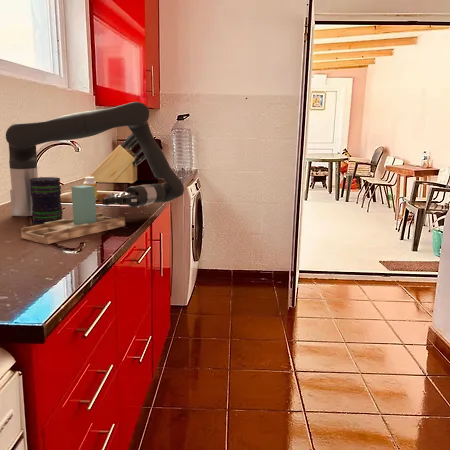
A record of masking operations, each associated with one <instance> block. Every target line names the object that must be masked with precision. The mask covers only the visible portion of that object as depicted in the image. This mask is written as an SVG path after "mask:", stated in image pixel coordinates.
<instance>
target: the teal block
mask: <svg viewBox="0 0 450 450" xmlns="http://www.w3.org/2000/svg"><path fill="white" fill-rule="evenodd" d="M71 200H72V201H71V202H72V216H73V219H74V224H77V225H81V224H91V223H96V222H97V221H96V214H97V205H96V200H95V186H89V185H83V184H82V185H81V184H79V185H74V186H71Z"/></svg>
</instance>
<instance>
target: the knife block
mask: <svg viewBox="0 0 450 450" xmlns="http://www.w3.org/2000/svg"><path fill="white" fill-rule="evenodd" d="M138 145H140V144H139V143H138V141H137V139H136V137H135V136H134V134H133V133H132V132H131V133H130V135H129V136H128V137H127V139H126V140H125V141H124V142H123V143H120V144H119V145H118V146H117V147H115V148H114V150H112V152H110V154H109V155H108V156H107V157H106V158H105V159H104V160H103V161H101V163H100V164H99V165H98V166H97V167H96V169H95V170H93V172H92V173H91V174H90V175H89V176H88V177H94V179H95V182H97V183H129V184H134V183H135V182H136V181H138V166H139V164H141V163H142V162H143V161H144V160H147V159H146V157H145V155H144V153H143V150H142V148H141V147H140V148H139V149H138V150H137V151H136V152H133V150H135V148H136V147H137V146H138ZM140 156H141V157H140ZM139 157H140V158H139Z"/></svg>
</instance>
